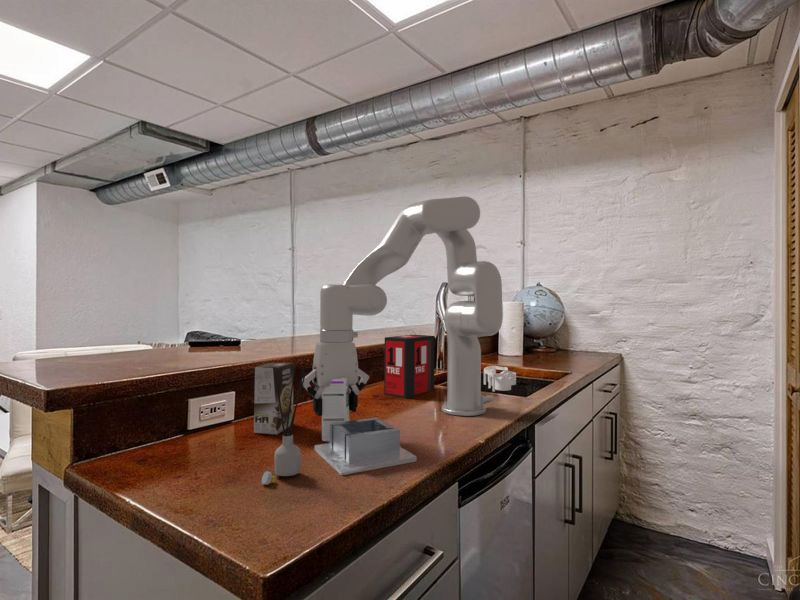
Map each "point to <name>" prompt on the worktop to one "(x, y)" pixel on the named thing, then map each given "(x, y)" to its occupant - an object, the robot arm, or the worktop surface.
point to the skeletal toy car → (500, 378)
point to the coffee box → (272, 397)
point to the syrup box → (334, 405)
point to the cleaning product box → (408, 365)
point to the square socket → (363, 446)
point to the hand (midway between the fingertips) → (335, 412)
